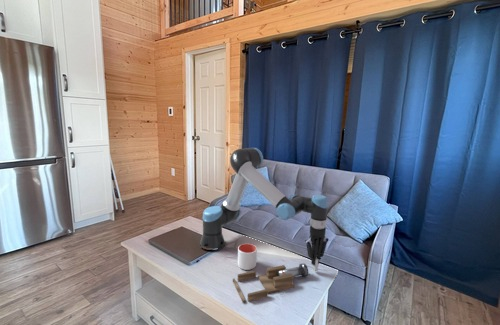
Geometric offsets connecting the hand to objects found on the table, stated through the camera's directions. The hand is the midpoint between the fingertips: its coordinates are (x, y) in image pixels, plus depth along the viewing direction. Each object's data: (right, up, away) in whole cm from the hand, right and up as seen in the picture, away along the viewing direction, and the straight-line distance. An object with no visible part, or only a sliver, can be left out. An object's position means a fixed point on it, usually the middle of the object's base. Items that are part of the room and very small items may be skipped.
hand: (314, 269), depth 121 cm
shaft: (-12, -2, -4) cm, 13 cm away
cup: (-35, 0, +6) cm, 35 cm away
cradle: (-26, -3, -10) cm, 28 cm away
